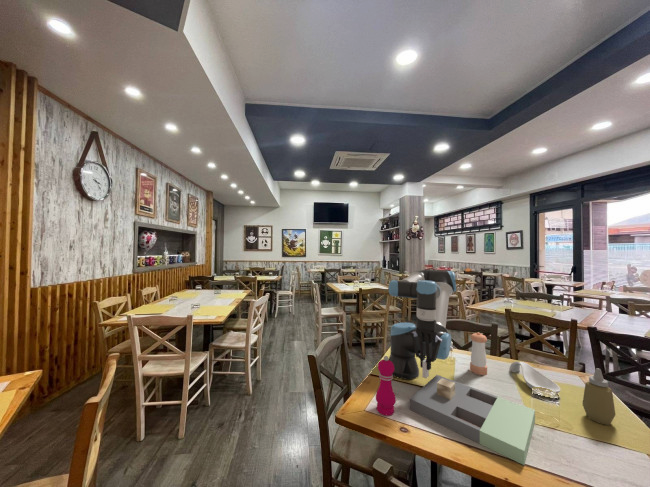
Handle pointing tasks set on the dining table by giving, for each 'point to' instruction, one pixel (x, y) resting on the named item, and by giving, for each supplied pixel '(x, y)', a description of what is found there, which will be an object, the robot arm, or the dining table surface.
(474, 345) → the salt shaker
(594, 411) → the squeeze bottle
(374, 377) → the dining table surface
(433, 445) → the dining table surface
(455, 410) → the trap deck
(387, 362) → the pepper mill
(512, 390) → the dining table surface
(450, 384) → the birch block
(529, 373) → the spoon rest
